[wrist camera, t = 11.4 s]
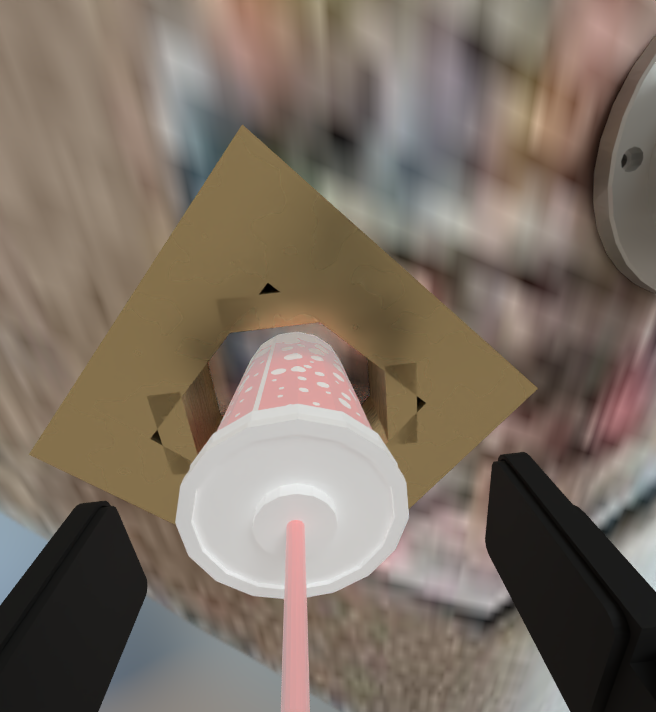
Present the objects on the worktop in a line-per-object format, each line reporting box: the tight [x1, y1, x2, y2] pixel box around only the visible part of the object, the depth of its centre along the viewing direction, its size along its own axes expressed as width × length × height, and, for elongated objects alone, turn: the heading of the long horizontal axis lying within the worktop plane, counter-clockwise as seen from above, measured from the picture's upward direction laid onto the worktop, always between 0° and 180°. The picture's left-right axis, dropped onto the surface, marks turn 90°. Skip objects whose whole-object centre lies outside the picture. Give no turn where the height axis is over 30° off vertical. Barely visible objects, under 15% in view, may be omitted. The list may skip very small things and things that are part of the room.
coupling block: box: [29, 125, 538, 525], centre depth 16 cm, size 14×14×4 cm
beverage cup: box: [175, 332, 409, 712], centre depth 11 cm, size 6×6×14 cm
